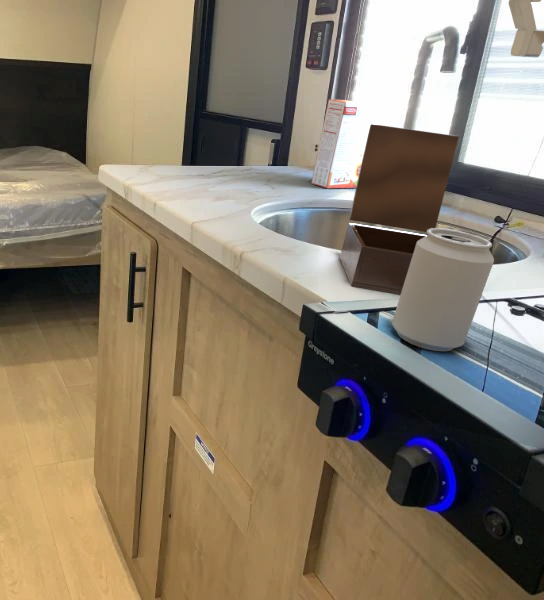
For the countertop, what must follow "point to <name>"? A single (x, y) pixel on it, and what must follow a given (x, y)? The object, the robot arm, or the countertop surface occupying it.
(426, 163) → the lid
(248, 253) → the countertop surface
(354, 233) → the chest
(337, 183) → the cracker box
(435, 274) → the can
